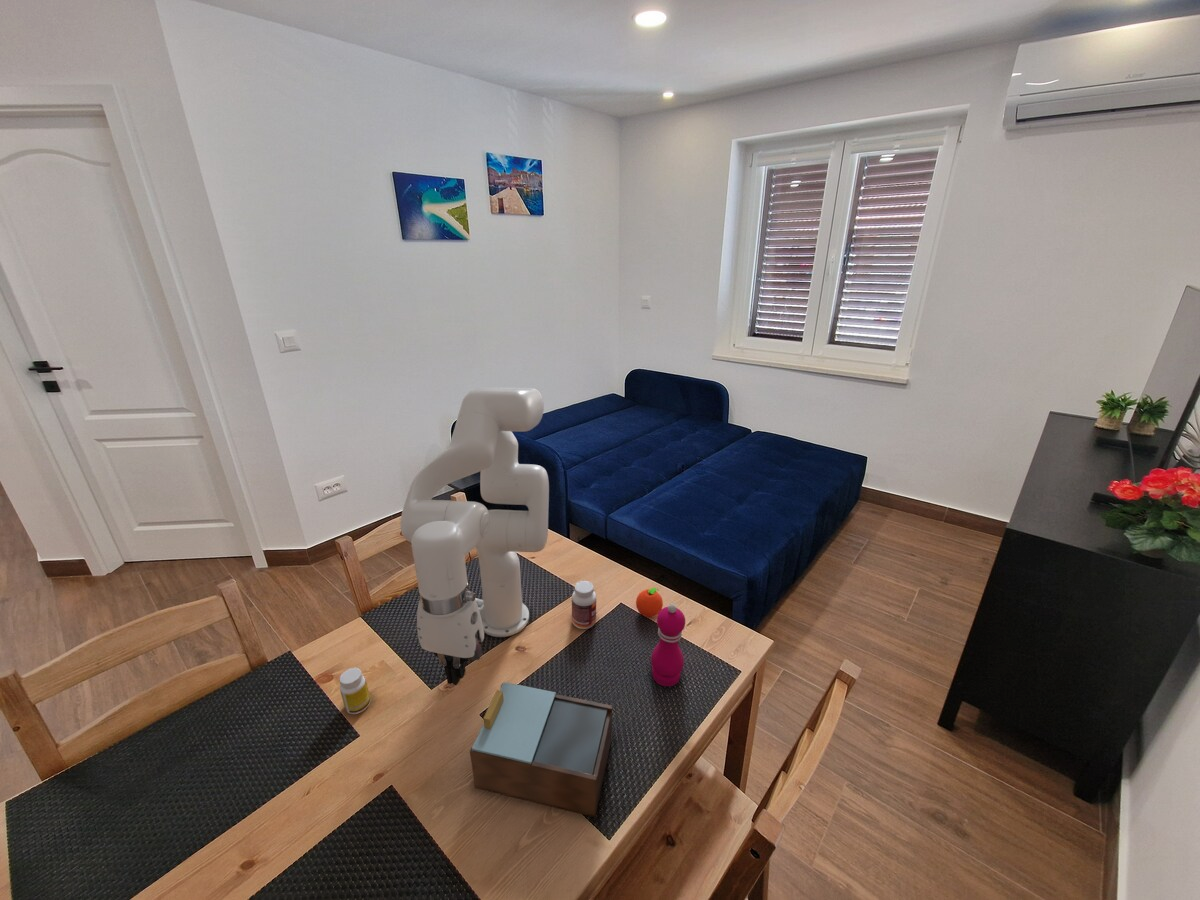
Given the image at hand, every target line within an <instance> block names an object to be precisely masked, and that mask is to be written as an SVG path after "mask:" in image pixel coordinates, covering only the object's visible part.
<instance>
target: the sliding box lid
mask: <svg viewBox="0 0 1200 900" xmlns="http://www.w3.org/2000/svg"><path fill="white" fill-rule="evenodd" d="M502 683H503V684H502ZM502 683H501V685H502V686H501V685H500V688H499V689H497V690H496V691H495V693H494V695H493V697H492V699H491V702H490V704H489V705H488V708H487V710H486V712H485V714H484V716H483V718H482V719H483V720H482V721H483V724H482V726H481V728H480V730H479V732H478V735H477V737H476V738H475V740H474V743H473V744H472V746H471V747H472V750H473V751H477V752H481V753H486V754H490V755H494V756H498V757H503V758H507V759H511V760H516V761H520V762H524V763H529V764H531V763H532V760H533V758H534V755H535V752H536V749H537V746H538V743H539V741H540V738H541V735H542V732H543V729H544V726H545V723H546V721H547V718H548V715H549V712H550V709H551V706H552V703H553V701H554V698H555V695H556V694H557V693H556V692H555V691H552V690H546V689H541V688H536V687H532V686H526V685H521V684H516V683H511V682H507V681H503V682H502Z"/></svg>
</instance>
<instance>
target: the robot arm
mask: <svg viewBox="0 0 1200 900" xmlns="http://www.w3.org/2000/svg"><path fill="white" fill-rule="evenodd" d="M544 404H545V403H544V399H543V396H542V393H541V392H540V391H539V390H538V389H537V388H533V387H532V388H531V387H503V386H502V387H501V386H484V387H476V388H473V389H471V390H469V391H468V392H467V394H466V395H465V396H464V397H463V399H462V401H461V404H460V407H459V411H458V415H457V418H456V422H455V425H454V429H453V432H452V436H451V439H450V443H449V446H448V448H447V449H446V450H444V451H442V452H441V453H439V454H438V455H436V457H434V458H433V459H431V460H430V461H429V462H428V463H427V464H426V465H425V466H424V467H423V468H422V469H420V471H419V472H418V473H417V474H416V475H415V477H414V478H413V480H412V482H411V483H410V487H409V488H408V492H407V495H406V498H405V501H404V503H403V508H402V511H401V515H400V533H401V535H402V537H403V538H404V539H405V540H406V541H407V542H409V543H411V544H410V545H411V552H412V558H413V563H414V569H415V570H414V571H415V574H416V575H415V576H416V581H417V587H418V595H419V601H418V604H417V612H416V628H417V629H416V631H417V638H418V643H419V645H420V648H421V649H423V650H425V651H426V652H430V653H433V655H435V656H436V658H437V659H438V660H439V663H440V666H443V668H444V673H445V676H446V682H447V684H448V685H453V686H457V685H458V684H459V682H460V680H461V679H463V678H464V676H465V675H466V665H465V664H466V662H468V661H469V660H470V661H479V660H481V657H482V656H483V655H484V651H483V649H482V646H481V644H480V643H483V642H484V639H485V634H486V635H488V636H490V637H494V638H506V637H511V636H513V635H516V634H518V633H519V632H521V631H522V630H523V629H525V627H526V626H527V625H528V623H529V620H530V611H529V608H528V606H527V605H526V604H525V603H523V595H522V593H523V592H522V579H521V578H522V577H521V563H520V559H519V556H518V554H517V553H539V552H541V551H543V549H545V547H546V545H547V542H548V536H549V506H550V505H549V502H550V481H549V475H548V472H547V470H546V468H545V467H544V466H541V465H538V464H534V463H533V464H530V463H519V442H518V440H517V437H516V436H515V435H514V433H513V432H520V433H521V432H524V433H525V432H529V431H531V430H534V428H536V427H537V426H538V425H539V424H540V423H541V422H542V421H541V420H542V419H543V415H544V410H545V405H544ZM477 473H480V477H479V478H480V480H479V485H480V487H479V488H480V489H479V490H480V496H481V498H482V500H483V501H484V502H485V503H489V504H495V505H519V506H520V505H521V506H526V507H527V509H528V510H515V509H514V510H513V509H488V508H487V507H486V506H485V505H484V504H483V503H481V502H478V501H472V500H471V501H470V500H469V501H468V500H449V499H448V500H446V499H445V500H444V499H433V498H434V496H435V495H436V494H437V493H438V492H439V491H440V490H441V489H444V487H446V486H447V485H449V484H451V483H453V482H457V481H459V480H462V479H464V478H466V477H470V476H472V475H474V474H477ZM474 548H475V550H476V554H477V558H478V565H479V573H480V584H481V592H482V593H481V594H482V599H480V598H477V594H476V592H473V591H471V590H470V584H469V582H468V581H469V580H468V573H467V566H466V565H467V564H466V557H467V555H468V554H469V553H470V552H471V551H472V550H473V549H474Z"/></svg>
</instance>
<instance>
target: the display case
mask: <svg viewBox="0 0 1200 900" xmlns="http://www.w3.org/2000/svg"><path fill="white" fill-rule="evenodd" d="M502 684H503V682H502V683H501V684H500V687H501V686H502ZM612 728H613V705H612V704H607V703H601V702H598V701H592V700H588V699H582V698H576V697H572V696H567V695H563V694H557V693H556V695H555V698H554V701H553V703H552V706H551V709H550V712H549V715H548V718H547V721H546V723H545V726H544V729H543V732H542V735H541V738H540V741H539V743H538V746H537V749H536V752H535V755H534V758H533V760H532V763H531V764H529V763H524V762H520V761H516V760H511V759H507V758H503V757H498V756H494V755H490V754H486V753H481V752H477V751H473V750H472V747H473V746H471V747H470V749H469V756H470V762H471V770H472V777H473V784H474V788H475V789H479V790H481V791H487V792H490V793H495V794H498V795H503V796H507V797H511V798H515V799H518V800H523V801H527V802H531V803H535V804H539V805H542V806H547V807H551V808H555V809H559V810H563V811H567V812H571V813H575V814H579V815H583V816H587V817H591V818H596V816H597V812H598V807H599V802H600V798H601V797H600V796H601V793H602V788H603V782H604V778H605V774H606V768H607V763H608V759H609V754H610V749H611V744H612V733H613V732H612V730H613V729H612Z"/></svg>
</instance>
